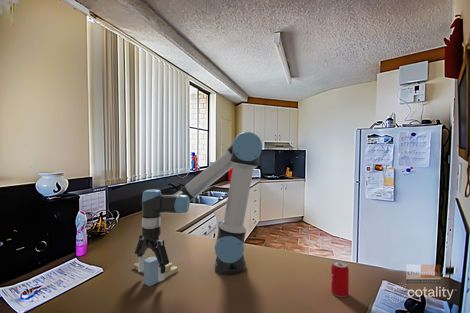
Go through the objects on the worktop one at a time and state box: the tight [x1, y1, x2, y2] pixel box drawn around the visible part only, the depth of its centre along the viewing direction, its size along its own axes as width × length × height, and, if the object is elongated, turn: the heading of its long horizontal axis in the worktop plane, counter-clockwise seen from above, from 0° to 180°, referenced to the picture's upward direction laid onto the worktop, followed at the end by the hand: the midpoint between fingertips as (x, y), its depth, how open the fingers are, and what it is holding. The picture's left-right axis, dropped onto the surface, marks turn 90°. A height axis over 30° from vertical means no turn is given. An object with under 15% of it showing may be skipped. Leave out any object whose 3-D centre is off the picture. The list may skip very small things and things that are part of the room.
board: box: [132, 256, 179, 279], centre depth 116 cm, size 20×10×2 cm, turn 55°
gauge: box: [143, 255, 174, 287], centre depth 108 cm, size 4×13×10 cm, turn 145°
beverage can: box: [330, 260, 350, 298], centre depth 96 cm, size 6×6×12 cm
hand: (151, 275), depth 105 cm, fingers open, 13 cm apart
